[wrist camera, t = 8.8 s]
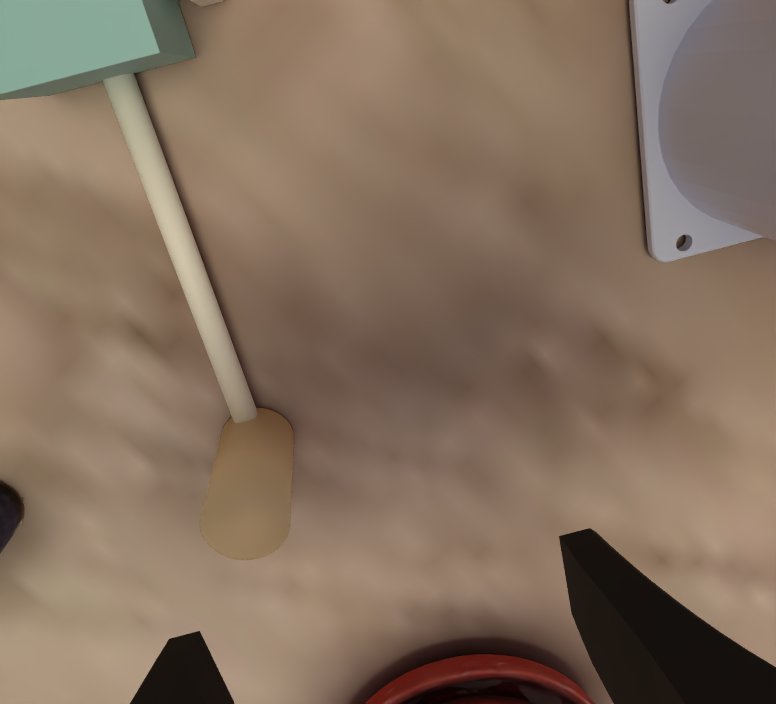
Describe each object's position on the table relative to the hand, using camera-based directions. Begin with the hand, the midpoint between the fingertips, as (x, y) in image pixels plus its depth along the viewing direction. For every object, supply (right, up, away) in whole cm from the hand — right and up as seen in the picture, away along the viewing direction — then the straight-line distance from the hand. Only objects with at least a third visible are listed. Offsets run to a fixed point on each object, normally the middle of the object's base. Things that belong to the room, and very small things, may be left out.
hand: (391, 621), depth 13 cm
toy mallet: (-6, +9, +6) cm, 12 cm away
